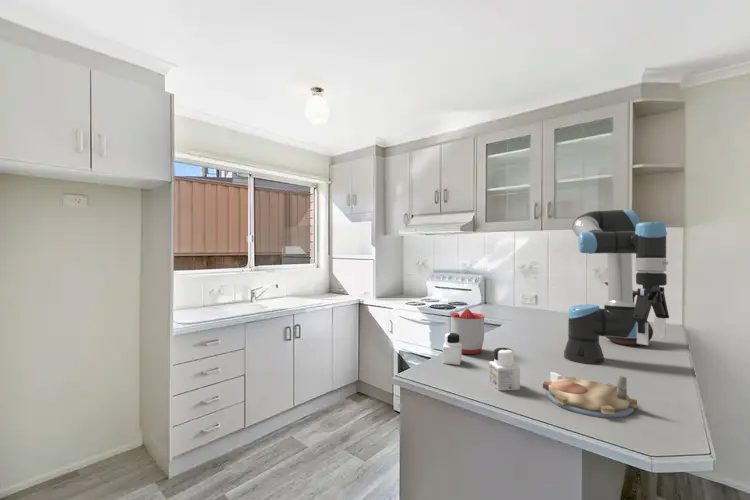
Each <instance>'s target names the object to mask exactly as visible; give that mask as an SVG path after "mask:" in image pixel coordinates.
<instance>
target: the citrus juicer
mask: <svg viewBox="0 0 750 500" xmlns="http://www.w3.org/2000/svg"><path fill="white" fill-rule="evenodd" d="M450 333H456V334H458V335H459V344H461V346H462V355H463V354H464V355H475V354H476V355H478V354H479V353H481V352H482V350H483V345H484V340H485V315H484V314H481V313H476V312H472V311H471V310H470V309H469V308H466V309H465V310H464V311H462V313H461V314H460V313H458V312H453V313H451V314H450Z"/></svg>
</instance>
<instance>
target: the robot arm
mask: <svg viewBox="0 0 750 500" xmlns="http://www.w3.org/2000/svg"><path fill="white" fill-rule="evenodd" d="M572 232H573V233H574V234H575V236H576V237H578V238H577V239H578V242H577V244H578V247H577V248H578V251H579V252H580V253H581V254H589V255H592V254H593V255H594V254H607V282H608V285H607V297H608V298H607V299H608V300H607V301H606V302H605V303H604V304H603V306H604V308H600V305H598V304H576V305H573V306H570V307H569V308H568V314H567V319H568V321H567V322H568V324H567V325H568V328H567V329H568V332H567V333H568V335H567V336H568V338H567V339H568V340H567V342H566V345H565V348H564V350H563V357H564V358H565V359H566V360H569V361H573V362H575V363H576V362H577V363H579V364H581V363H583V364H595V365H596V364H602V363H604V362H605V356H604V353H603V349H602V348H601V343H600V337H605V336H607V337H619V338H625V339H626V338H637V344H643V345H645V346H649V341H648V323H646V322H647V321H648V318H649V315H650V312H651V309H652V310H653V313H654V315H655V317H653V319H654V321H653V322H654V325H653V326H654V329H653V334H654V339H660V340H666V339H667V337H666V335H667V334H666V333H667V331H666V330H667V327H666V323H667V321H666V319H670V315H669V310H668V305H667V301H666V296H665V295H666V294H665V287H664V286H666V285H667V283H668V282H667V279H668V278H667V275H668V274H667V273H665V272H666V271H667V265H669V262H668V261H667V235H668V232H667V226H666V224H665V222H662V221H644V222H640V219H639V215H638V214H637V212H636V211H635V210H632V209H615V210H613V209H611V210H594V211H588V212H585V213H583V214H581V215H580V216H578V217H577V218H576V219H575V220H574V221H573V223H572ZM632 254H635V271H637V273H636V274H635V283H636V285H639V286H642V288H637V290H636V291H637V295H636V301H635V302H634V303H633V291H634V290H633V266H632V265H633V262H632V259H633V258H632V256H633V255H632Z"/></svg>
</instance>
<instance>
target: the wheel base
mask: <svg viewBox="0 0 750 500" xmlns="http://www.w3.org/2000/svg"><path fill="white" fill-rule="evenodd" d="M549 377H550V379H549V380H550V381H549V382H552V381H554V380H559V379H563V378H562V375H560V374H559V373H556V372H555V371H552V372H550V375H549ZM545 397H546V398H547V399H548V401H550V402H551V403H553V404H555V405H556V406H558V407H561V408H563V409H565V410H567V411H569V412H570V411H571V412H574V413H577V414H581V415H585V416H590V417H596V418H608V419H609V418H610V419H611V418H613V419H615V418H624V417H628V416H631V415H632V414H633V413H634V412H635V407H630V406H629V407H628V408H627V409H625V410H621V411H615V414H603V413H602V412H600V411H595V410H589V409H584V408H579V407H576V406H572V405H569V404H565V405H562V404H560V403H558V402H556V401H555V397H553V396H552V395H551V394H550V393H549V390H548V389H545Z"/></svg>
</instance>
